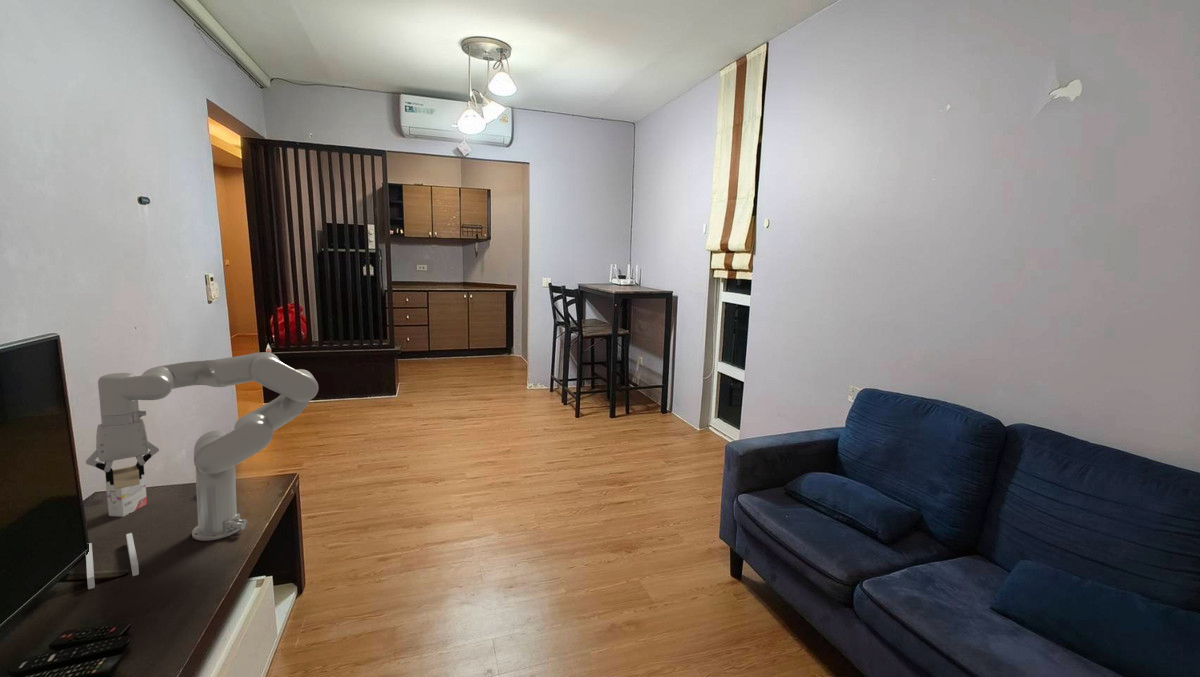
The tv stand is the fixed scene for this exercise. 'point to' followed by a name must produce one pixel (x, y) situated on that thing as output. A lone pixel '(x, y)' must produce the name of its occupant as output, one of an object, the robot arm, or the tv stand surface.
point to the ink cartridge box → (126, 498)
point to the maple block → (126, 477)
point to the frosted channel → (131, 555)
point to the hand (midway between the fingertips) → (125, 480)
